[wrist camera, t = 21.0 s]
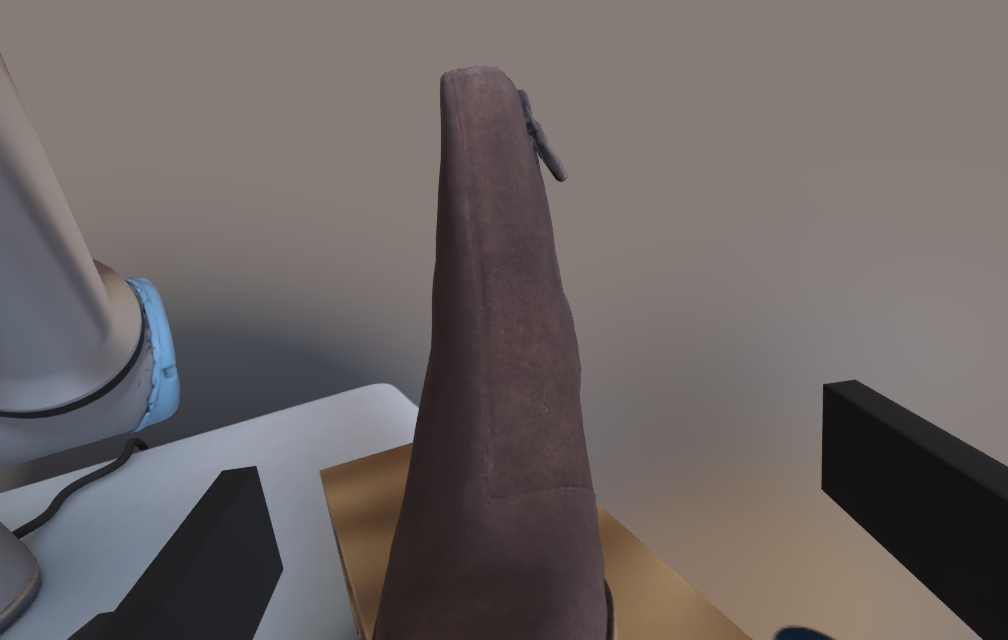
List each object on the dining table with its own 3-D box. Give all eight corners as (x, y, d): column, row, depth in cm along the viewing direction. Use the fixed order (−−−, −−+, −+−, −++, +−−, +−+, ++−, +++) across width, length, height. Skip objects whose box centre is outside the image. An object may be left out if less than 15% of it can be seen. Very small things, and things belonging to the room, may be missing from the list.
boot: (298, 893, 15) (31, 20, 10) (451, 440, 38) (397, 107, 33) (652, 895, 14) (573, -69, 9) (590, 430, 37) (558, 85, 32)
